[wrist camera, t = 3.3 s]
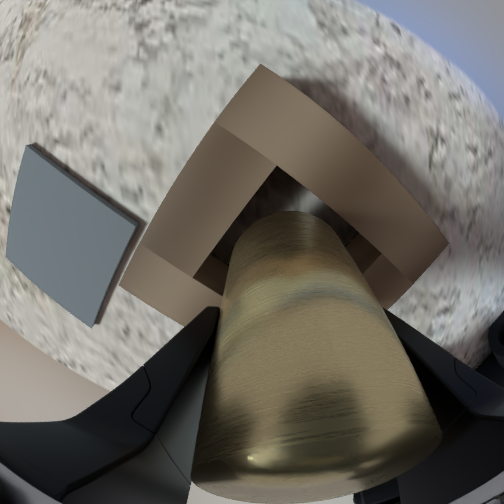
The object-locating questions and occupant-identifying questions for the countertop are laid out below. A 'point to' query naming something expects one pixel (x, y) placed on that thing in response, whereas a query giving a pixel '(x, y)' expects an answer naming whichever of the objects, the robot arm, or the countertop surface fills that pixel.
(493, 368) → the pipe connector
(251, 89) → the housing
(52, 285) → the mat
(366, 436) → the end plug
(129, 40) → the countertop surface
